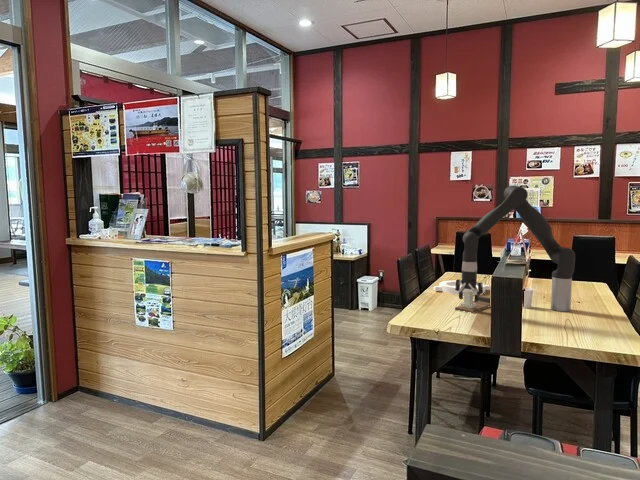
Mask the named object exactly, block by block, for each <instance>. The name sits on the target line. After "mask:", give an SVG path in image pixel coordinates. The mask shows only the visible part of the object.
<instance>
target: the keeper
mask: <svg viewBox="0 0 640 480" xmlns="http://www.w3.org/2000/svg"><path fill="white" fill-rule="evenodd" d="M473 301H474V296H473V292H470V291H467V292H464V296H463V302H461V303H460V306H461V307H465V308H470V309H472V308H475V307H476V303H473Z"/></svg>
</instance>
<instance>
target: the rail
mask: <svg viewBox="0 0 640 480" xmlns="http://www.w3.org/2000/svg"><path fill="white" fill-rule="evenodd" d="M490 298H491V297H488V296H481V295H479V300H478V301H477V302H475V300H473V303H476V307H475V308H472V309H470V308H465V307H461V305H458V306H455V307H454V310H455V311H458V310H460V311H459V312H463V311H465V312H464V313H468V312H471V313H470V314H475V313H477V312H476V311H478V312H480V311H482V310H481V309H483V308H486V307H488V306H490ZM488 308H489V307H488ZM486 309H487V308H486ZM479 310H480V311H479ZM483 310H484V309H483ZM474 312H475V313H474Z"/></svg>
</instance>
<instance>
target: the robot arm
mask: <svg viewBox="0 0 640 480" xmlns="http://www.w3.org/2000/svg"><path fill="white" fill-rule="evenodd" d="M503 196H504V200H503V201H502V203H500V204H499V205H497V207H495V208H493V209H492V210H490V211H489V212H488V213H486V214H484V216H482V218H480V219H479V220H478V221H477V223H475V224H474V225H473V226H472V227H470V228H469V229H468V230H466V232H465V233H464V234H463V236H462V242H463V243H464V245H463V246H464V247H463V252H462V264H461V279H460V278H458V279H456V288H455V290H456V291H458V292H459V295H458V298H459V300H464V296H463V292H462V291H463V290H464V289H470V290H471V289H472V291H473V292H474V293H475V296H474V301H475V302H477V301H478V300H479V296H480V295H479V294H482V293H483V284H484V283H483V282H481V281H480V282H478V281H477V279H478V278H477V277H478V254H477V253H478V248H479V239H480V238H481V237H482V236H483V235H485V234H487V233H488V232H489V231H490V230H492V229H493V228H494V226H496V225H497V224H498V223H499V222H500V221H501V220H502V219H504V217H506V216H507V215H509V213H511V212H512V211H513V210H515V212H517V214H518V215H519V217H520V218H521V220H522V221H523V223H524V224H525V226H526V227H527V228H528V230H529V232H531V234H532V235H533V236H534V237H535V239H537V241H538V243H540V246H542V247H543V249H544V250H545V252H546V254H547V256H548V257H549V259H550V260H551V261H552V262H553V263H554V264H556V265H557V268H556V269H555V270H553V271H552V273H551V297H550V310H553V311H557V312H570V311H571V307H572V306H571V304H572V288H573V287H572V286H573V285H572V284H573V281H572V280H573V274H574V273H575V266H576V254H575V253H576V252H575V251H574V250H573V249H572V248H569V247H566V246H565V247H564V246H562V245H560V244H559V243H558V242H557V240H556V239H555V237H554V235H553V230H552V226H551V224H550V223H549V222H548V221H547V219H546V218H545V217H544V216H543V214H541V212H539V211H538V210H537V209H536V208H535V207H534V206H532V204H530V203H529V201H528V200H527V198H528V197H529V196H528V191H527V189H526V188H524V187H522V186H519V185H509V186H507V187H506V188H505V189H504V191H503ZM460 283H462V286H461V288H460ZM476 285H477V286H478V289H477V287H476ZM482 295H483V294H482Z"/></svg>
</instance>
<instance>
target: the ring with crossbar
mask: <svg viewBox="0 0 640 480" xmlns="http://www.w3.org/2000/svg"><path fill="white" fill-rule="evenodd" d="M456 280H457V279H456ZM456 280H455V279H454V280H444V281H440V282H439V285H434V286H433V291H434V292H435V291H437V292H438V291H439V292H441V291H443V292H447V293H452V294H459V292H458V291H456V290H455V288H456ZM461 286H462V283H460V288H461ZM476 287H477V289H478V286H477V285H476ZM467 291H470V292H473V291H472V289H471V290H470V289H464V290H463V291H462V292H463V294H464V292H467ZM486 291H491V285H489V284H484V283H483V293H484V292H485V293H486ZM443 292H442V293H443ZM485 293H484V294H485ZM452 294H451V295H452ZM473 294H475V293H474V292H473Z"/></svg>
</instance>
